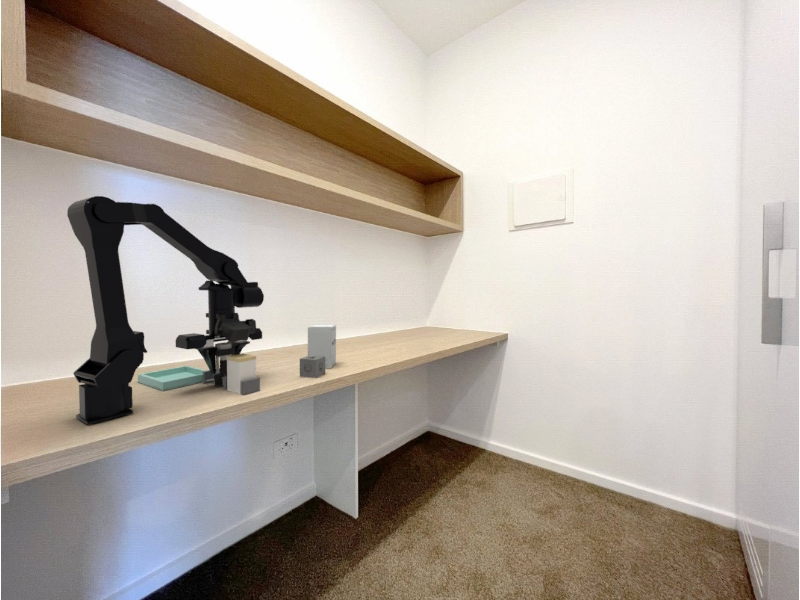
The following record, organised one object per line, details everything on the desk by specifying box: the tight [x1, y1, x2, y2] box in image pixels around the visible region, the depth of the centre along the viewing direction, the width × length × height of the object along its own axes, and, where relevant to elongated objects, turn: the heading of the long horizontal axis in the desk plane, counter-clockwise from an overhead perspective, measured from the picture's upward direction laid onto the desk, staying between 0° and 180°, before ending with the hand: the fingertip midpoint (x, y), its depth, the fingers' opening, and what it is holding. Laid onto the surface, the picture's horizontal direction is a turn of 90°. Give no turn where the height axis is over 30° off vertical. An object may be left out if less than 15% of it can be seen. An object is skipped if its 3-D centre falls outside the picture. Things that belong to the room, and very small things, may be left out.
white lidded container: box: [226, 353, 257, 395], centre depth 77 cm, size 4×5×8 cm
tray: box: [137, 365, 207, 392], centre depth 84 cm, size 12×14×2 cm
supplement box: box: [307, 324, 337, 370], centre depth 102 cm, size 7×7×13 cm
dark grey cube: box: [299, 355, 326, 379], centre depth 91 cm, size 5×5×5 cm
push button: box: [206, 341, 236, 387], centre depth 81 cm, size 7×5×10 cm
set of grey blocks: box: [202, 367, 261, 396], centre depth 79 cm, size 4×17×3 cm, turn 58°
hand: (223, 371), depth 81 cm, fingers closed on push button, 4 cm apart
